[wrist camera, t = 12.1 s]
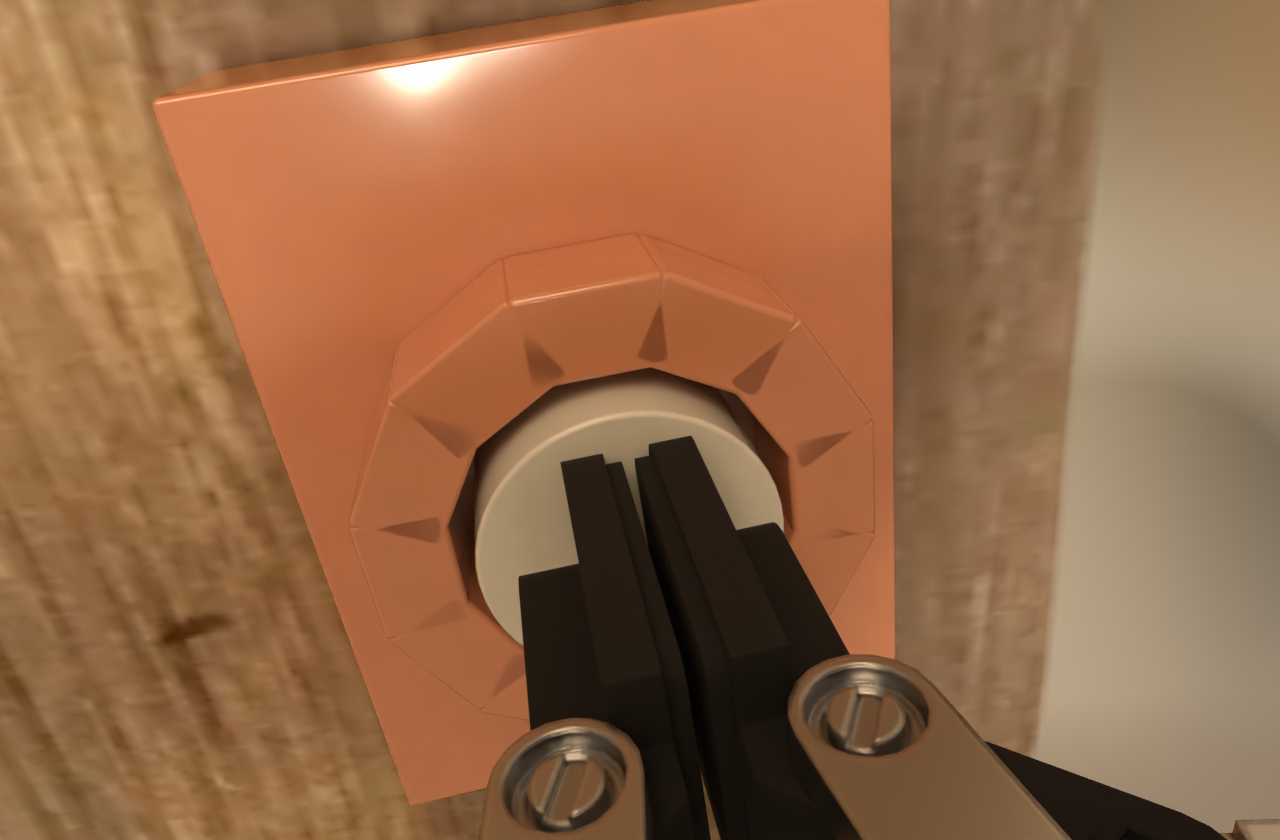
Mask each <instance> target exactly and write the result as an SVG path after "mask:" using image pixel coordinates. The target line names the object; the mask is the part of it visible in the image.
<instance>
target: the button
mask: <svg viewBox="0 0 1280 840" xmlns="http://www.w3.org/2000/svg"><path fill="white" fill-rule="evenodd" d="M686 436H692V437H693V439H694V441H695V443H696V445H697V448H698V450H699V452H700V454H701V456H702V458H703V460H704V462H705V465H706V467H707V469H708V471H709V473H710V475H711V477H712V479H713V482H714V484H715V486H716V488H717V490H718V492H719V494H720V497H721V499H722V501H723V503H724V505H725V507H726V509H727V511H728V514H729V516H730V518H731V520H732V522H733V524H734V526H735V529H736V530H738V529H743V528H747V527H752V526H757V525H761V524H766V523H771V522H775V523H777V524H778V525H779V527H780V528H781V530H782V531H783V533H784V516H783V509H782V503H781V499H780V496H779V493H778V490H777V487H776V485H775V483H774V481H773V479H772V477H771V475H770V473H769V471H768V469H767V467H766V466H765V464H764V462H763V461H762V459H761V457H760V456H759V454H758V452H757V451H756V449H755V447H754V446H753V444H752V442H751V441H750V439H749V437H748V436H747V434H746V432H745V430H744V429H743V427H742V425H741V424H740V422H739V420H738V419H737V417H736V415H735V414H734V412H733V410H732V409H731V407H730V405H729V404H728V403H727V401H726V400H725V398H724V397H723V396H722V394H721V393H720V392H719V391H718V390H717V389H716V388H715V387H711V386H708V385H705V384H702V383H699V382H695V381H692V380H689V379H686V378H682V377H679V376H676V375H673V374H670V373H666V372H663V371H660V370H657V369H654V368H650V367H649V368H644V369H639V370H634V371H629V372H624V373H619V374H614V375H608V376H603V377H598V378H593V379H588V380H583V381H578V382H573V383H568V384H563V385H558V386H553V387H552V388H551V389H550V390H548V391H547V392H546V393H545V394H543V395H542V396H541V397H540V398H539V399H537V400H536V401H535V402H534V403H532V404H531V405H530V406H529V407H527V408H526V409H525V410H524V411H522V412H521V413H520V414H519V415H517V416H516V417H515V418H514V419H512V420H511V421H510V422H509V423H507V424H506V425H505V426H504V427H502V428H501V429H500V430H499V431H497V432H496V433H495V434H494V435H493V436H491V437H490V438H489V439H488V440H486V441H485V442H484V443H483V444H481V445H480V446H479V448H478V451H477V455H476V459H475V467H474V520H475V567H476V573H477V578H478V583H479V586H480V589H481V592H482V595H483V597H484V600H485V602H486V604H487V606H488V607H489V609H490V611H491V613H492V615H493V616H494V617H495V618H496V620H497V621H498V622H499V624H500V625H501V626H502V627H503V629H504V630H505V631H506V632H507V633H508V634H509V635H510V636H511V637H513V638H514V639H515V640H516V641H517V642H518V643H519V644H521V645H522V646H523V635H522V622H521V610H520V598H519V585H518V578H519V576H522V575H527V574H531V573H536V572H541V571H546V570H550V569H555V568H560V567H564V566H569V565H574V564H578V563H579V562H578V556H577V551H576V545H575V540H574V534H573V529H572V524H571V518H570V513H569V507H568V502H567V496H566V491H565V486H564V480H563V475H562V469H561V464H560V462H563V461H568V460H572V459H577V458H582V457H587V456H592V455H597V454H603V457H604V460H605V464H610V463H615V462H620V461H622V464H623V467H624V471H625V474H626V477H627V480H628V484H629V487H630V490H631V493H632V497H633V500H634V503H635V506H636V510H637V513H638V516H639V519H640V523H641V526H642V529H643V533H644V536H645V539H646V542H647V537H646V531H645V525H644V518H643V512H642V506H641V500H640V494H639V487H638V481H637V475H636V469H635V458H639V457H644V456H649V444H651V443H656V442H661V441H666V440H671V439H676V438H681V437H686ZM647 546H648V543H647Z"/></svg>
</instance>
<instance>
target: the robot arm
mask: <svg viewBox="0 0 1280 840" xmlns="http://www.w3.org/2000/svg"><path fill="white" fill-rule="evenodd" d="M560 464H561V469H562V475H563V480H564V486H565V491H566V496H567V502H568V507H569V513H570V518H571V524H572V529H573V534H574V540H575V545H576V551H577V556H578V562H579V563H578V564H574V565H569V566H564V567H560V568H555V569H550V570H546V571H541V572H536V573H531V574H527V575H522V576H519V578H518V585H519V598H520V610H521V622H522V635H523V647H524V659H525V671H526V683H527V695H528V708H529V720H530V731H529V732H527V733H525V734H524V735H523V736H521V737H520V738H519V739H518V740H516V741H515V742H514V743H513V744H512V745H510V746H509V747H508V748H507V749H506V750H505V751H504V753H503V754H502V756H501V757H500V758H499V760H498V761H497V762H496V764H495V765H494V767H493V769H492V772H491V775H490V778H489V781H488V784H487V787H486V793H485V799H484V805H483V812H482V818H481V825H480V831H479V837H478V840H711V838H710V832H709V825H708V818H707V812H706V805H705V798H704V792H703V785H702V778H701V773H702V777H703V780H704V784H705V787H706V791H707V794H708V798H709V801H710V804H711V808H712V811H713V815H714V818H715V822H716V825H717V829H718V832H719V836H720V839H721V840H1280V819H1266V820H1236V822H1235V826H1234V830H1233V833H1218V832H1217V831H1215V830H1214V829H1213V828H1211V827H1210V826H1208V825H1206V824H1204V823H1201V822H1199V821H1197V820H1195V819H1193V818H1191V817H1189V816H1187V815H1185V814H1183V813H1181V812H1178V811H1175V810H1172V809H1170V808H1167V807H1164V806H1162V805H1159V804H1156V803H1153V802H1150V801H1148V800H1145V799H1142V798H1140V797H1137V796H1134V795H1131V794H1129V793H1126V792H1123V791H1120V790H1118V789H1115V788H1112V787H1110V786H1107V785H1104V784H1101V783H1099V782H1096V781H1093V780H1090V779H1088V778H1085V777H1082V776H1079V775H1077V774H1074V773H1071V772H1068V771H1066V770H1063V769H1060V768H1057V767H1055V766H1052V765H1049V764H1047V763H1043V762H1041V761H1038V760H1036V759H1033V758H1030V757H1027V756H1025V755H1022V754H1019V753H1016V752H1014V751H1011V750H1008V749H1005V748H1003V747H1000V746H997V745H995V744H992V743H989V742H986V741H984V740H983V739H982V738H981V737H980V736H979V735H978V734H977V732H976V731H975V730H974V729H973V728H972V727H971V726H970V724H969V723H968V722H967V721H966V720H965V719H964V718H963V717H962V715H961V714H960V713H959V712H958V711H957V710H956V709H955V708H954V706H953V705H952V704H951V703H950V702H949V701H948V700H947V699H946V697H945V696H944V695H943V694H942V693H941V692H940V691H939V690H938V688H937V687H936V686H935V685H934V684H933V683H932V682H931V681H930V680H928V679H927V678H926V677H925V676H924V675H922V674H921V673H920V672H919V671H918V670H916V669H914V668H912V667H910V666H908V665H906V664H904V663H902V662H900V661H898V660H895V659H891V658H886V657H882V656H877V655H873V654H850V653H849V652H848V650H847V648H846V646H845V644H844V643H843V641H842V639H841V637H840V635H839V633H838V632H837V630H836V628H835V626H834V624H833V623H832V621H831V619H830V617H829V615H828V613H827V612H826V610H825V608H824V606H823V604H822V602H821V601H820V599H819V597H818V595H817V593H816V592H815V590H814V588H813V586H812V584H811V582H810V581H809V579H808V577H807V575H806V573H805V571H804V570H803V568H802V566H801V564H800V562H799V561H798V559H797V557H796V555H795V553H794V551H793V550H792V548H791V546H790V544H789V542H788V540H787V539H786V537H785V535H784V533H783V531H782V530H781V528H780V527H779V525H778V524H777V523H775V522H771V523H766V524H761V525H757V526H752V527H747V528H743V529H738V530H736V529H735V526H734V524H733V522H732V520H731V518H730V516H729V514H728V511H727V509H726V507H725V505H724V503H723V501H722V499H721V497H720V494H719V492H718V490H717V488H716V486H715V484H714V482H713V479H712V477H711V475H710V473H709V471H708V469H707V467H706V465H705V462H704V460H703V458H702V456H701V454H700V452H699V450H698V448H697V445H696V443H695V441H694V439H693V437H692V436H686V437H681V438H676V439H671V440H666V441H661V442H656V443H651V444H649V456H644V457H639V458H635V469H636V475H637V481H638V487H639V494H640V500H641V506H642V512H643V518H644V525H645V531H646V537H647V542H646V539H645V536H644V533H643V529H642V526H641V523H640V519H639V516H638V513H637V510H636V506H635V503H634V500H633V497H632V493H631V490H630V487H629V484H628V480H627V477H626V474H625V471H624V467H623V464H622V461H620V462H615V463H610V464H605V460H604V457H603V454H597V455H592V456H587V457H582V458H577V459H572V460H568V461H563V462H560ZM647 543H648V546H647ZM700 770H701V772H700Z"/></svg>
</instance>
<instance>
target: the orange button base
mask: <svg viewBox="0 0 1280 840" xmlns="http://www.w3.org/2000/svg"><path fill="white" fill-rule="evenodd" d="M152 108H153V111H154V113H155V116H156V119H157V122H158V124H159V127H160V130H161V132H162V135H163V138H164V140H165V143H166V146H167V149H168V151H169V154H170V157H171V159H172V162H173V165H174V168H175V170H176V173H177V176H178V178H179V181H180V184H181V186H182V189H183V192H184V195H185V197H186V200H187V203H188V205H189V208H190V211H191V214H192V216H193V219H194V222H195V224H196V227H197V230H198V232H199V235H200V238H201V241H202V243H203V246H204V249H205V251H206V254H207V257H208V260H209V262H210V265H211V268H212V270H213V273H214V276H215V278H216V281H217V284H218V287H219V289H220V292H221V295H222V297H223V300H224V303H225V306H226V308H227V311H228V314H229V316H230V319H231V322H232V324H233V327H234V330H235V333H236V335H237V338H238V341H239V343H240V346H241V349H242V352H243V354H244V357H245V360H246V362H247V365H248V368H249V371H250V373H251V376H252V379H253V381H254V384H255V387H256V389H257V392H258V395H259V398H260V400H261V403H262V406H263V408H264V411H265V414H266V417H267V419H268V422H269V425H270V427H271V430H272V433H273V435H274V438H275V441H276V444H277V446H278V449H279V452H280V454H281V457H282V460H283V463H284V465H285V468H286V471H287V473H288V476H289V479H290V481H291V484H292V487H293V490H294V492H295V495H296V498H297V500H298V503H299V506H300V509H301V511H302V514H303V517H304V519H305V522H306V525H307V527H308V530H309V533H310V536H311V538H312V541H313V544H314V546H315V549H316V552H317V555H318V557H319V560H320V563H321V565H322V568H323V571H324V573H325V576H326V579H327V582H328V584H329V587H330V590H331V592H332V595H333V598H334V601H335V603H336V606H337V609H338V611H339V614H340V617H341V620H342V622H343V625H344V628H345V630H346V633H347V636H348V638H349V641H350V644H351V647H352V649H353V652H354V655H355V657H356V660H357V663H358V666H359V668H360V671H361V674H362V676H363V679H364V682H365V684H366V687H367V690H368V693H369V695H370V698H371V701H372V703H373V706H374V709H375V712H376V714H377V717H378V720H379V722H380V725H381V728H382V730H383V733H384V736H385V739H386V741H387V744H388V747H389V749H390V752H391V755H392V758H393V760H394V763H395V766H396V768H397V771H398V774H399V776H400V779H401V782H402V785H403V787H404V790H405V793H406V795H407V798H408V801H409V803H410V804H411V805H414V806H415V805H419V804H423V803H427V802H432V801H436V800H440V799H444V798H449V797H453V796H457V795H462V794H466V793H470V792H474V791H479V790H483V789H486V787H487V784H488V781H489V778H490V775H491V772H492V769H493V767H494V765H495V764H496V762H497V761H498V760H499V758H500V757H501V756H502V754H503V753H504V751H505V750H506V749H507V748H508V747H509V746H510V745H512V744H513V743H514V742H515V741H516V740H518V739H519V738H520V737H521V736H523V735H524V734H525V733H527V732H529V731H530V720H529V708H528V695H527V683H526V671H525V659H524V647H523V646H522V645H521V644H519V643H518V642H517V641H516V640H515V639H514V638H513V637H511V636H510V635H509V634H508V633H507V632H506V631H505V630H504V629H503V627H502V626H501V625H500V624H499V622H498V621H497V620H496V618H495V617H494V616H493V615H492V613H491V611H490V609H489V607H488V606H487V604H486V602H485V600H484V597H483V595H482V592H481V589H480V586H479V583H478V578H477V573H476V567H475V520H474V467H475V459H476V455H477V451H478V448H479V446H480V445H481V444H483V443H484V442H485V441H486V440H488V439H489V438H490V437H491V436H493V435H494V434H495V433H496V432H497V431H499V430H500V429H501V428H502V427H504V426H505V425H506V424H507V423H509V422H510V421H511V420H512V419H514V418H515V417H516V416H517V415H519V414H520V413H521V412H522V411H524V410H525V409H526V408H527V407H529V406H530V405H531V404H532V403H534V402H535V401H536V400H537V399H539V398H540V397H541V396H542V395H543V394H545V393H546V392H547V391H548V390H550V389H551V388H552V387H553V386H558V385H563V384H568V383H573V382H578V381H583V380H588V379H593V378H598V377H603V376H608V375H614V374H619V373H624V372H629V371H634V370H639V369H644V368H649V367H650V368H654V369H657V370H660V371H663V372H666V373H670V374H673V375H676V376H679V377H682V378H686V379H689V380H692V381H695V382H699V383H702V384H705V385H708V386H711V387H715V388H716V389H717V390H718V391H719V392H720V393H721V394H722V396H723V397H724V398H725V400H726V401H727V403H728V404H729V405H730V407H731V409H732V410H733V412H734V414H735V415H736V417H737V419H738V420H739V422H740V424H741V425H742V427H743V429H744V430H745V432H746V434H747V436H748V437H749V439H750V441H751V442H752V444H753V446H754V447H755V449H756V451H757V452H758V454H759V456H760V457H761V459H762V461H763V462H764V464H765V466H766V467H767V469H768V471H769V473H770V475H771V477H772V479H773V481H774V483H775V485H776V487H777V490H778V493H779V496H780V499H781V503H782V509H783V516H784V535H785V537H786V539H787V540H788V542H789V544H790V546H791V548H792V550H793V551H794V553H795V555H796V557H797V559H798V561H799V562H800V564H801V566H802V568H803V570H804V571H805V573H806V575H807V577H808V579H809V581H810V582H811V584H812V586H813V588H814V590H815V592H816V593H817V595H818V597H819V599H820V601H821V602H822V604H823V606H824V608H825V610H826V612H827V613H828V615H829V617H830V619H831V621H832V623H833V624H834V626H835V628H836V630H837V632H838V633H839V635H840V637H841V639H842V641H843V643H844V644H845V646H846V648H847V650H848V652H849V653H850V654H873V655H877V656H882V657H886V658H891V659H895V660H896V657H895V531H894V405H893V279H892V153H891V27H890V0H649V1H643V2H637V3H630V4H624V5H618V6H612V7H606V8H599V9H593V10H587V11H581V12H575V13H568V14H562V15H556V16H550V17H544V18H537V19H531V20H525V21H519V22H513V23H506V24H500V25H494V26H488V27H482V28H475V29H469V30H463V31H457V32H451V33H444V34H438V35H432V36H426V37H420V38H414V39H407V40H401V41H395V42H389V43H383V44H376V45H370V46H364V47H358V48H352V49H345V50H339V51H333V52H327V53H321V54H314V55H308V56H302V57H296V58H290V59H283V60H277V61H271V62H265V63H259V64H252V65H246V66H240V67H234V68H228V69H221V70H217V71H215V72H213V73H211V74H208V75H206V76H204V77H202V78H200V79H197V80H195V81H193V82H191V83H189V84H186V85H184V86H182V87H180V88H177V89H175V90H173V91H171V92H169V93H166V94H164V95H162V96H160V97H157V98H156V99H154V100H153V101H152Z"/></svg>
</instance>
